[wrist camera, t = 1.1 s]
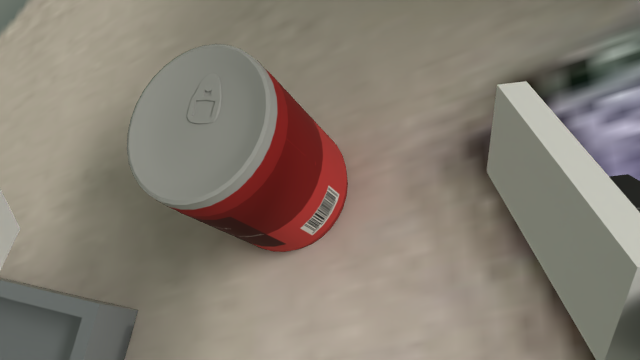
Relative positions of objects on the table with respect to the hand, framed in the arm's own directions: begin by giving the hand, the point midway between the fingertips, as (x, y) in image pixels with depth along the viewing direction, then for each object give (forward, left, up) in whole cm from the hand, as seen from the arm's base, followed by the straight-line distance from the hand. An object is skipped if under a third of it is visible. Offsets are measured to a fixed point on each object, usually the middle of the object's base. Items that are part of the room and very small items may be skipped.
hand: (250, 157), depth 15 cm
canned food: (-4, -8, -19) cm, 21 cm away
